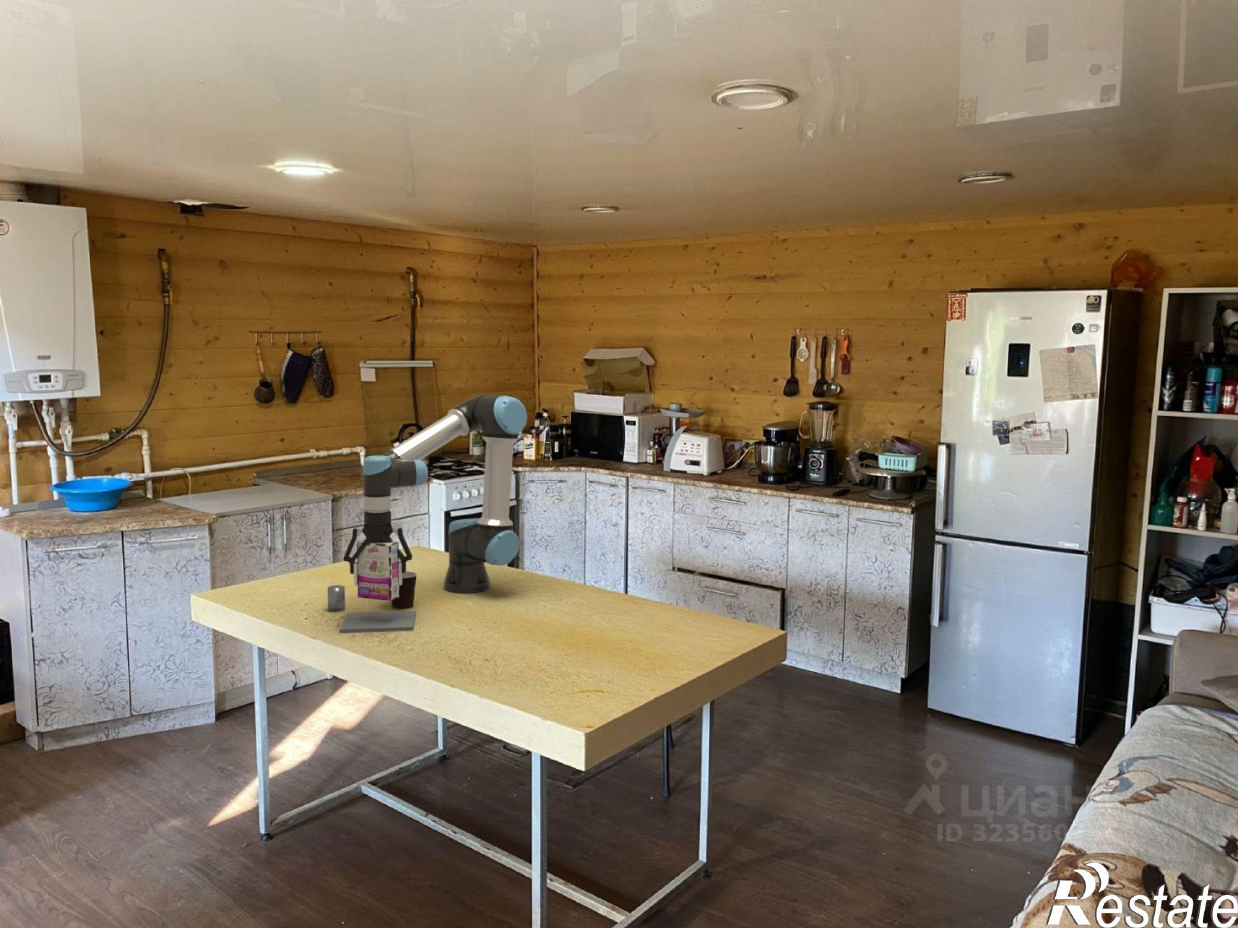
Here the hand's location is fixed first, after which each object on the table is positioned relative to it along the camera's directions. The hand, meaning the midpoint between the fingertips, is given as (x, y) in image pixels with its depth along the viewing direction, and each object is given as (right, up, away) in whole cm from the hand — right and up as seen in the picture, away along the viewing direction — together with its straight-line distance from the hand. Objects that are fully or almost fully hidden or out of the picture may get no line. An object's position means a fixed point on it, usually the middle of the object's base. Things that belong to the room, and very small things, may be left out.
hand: (378, 584), depth 258 cm
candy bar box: (0, -4, 0) cm, 4 cm away
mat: (0, -11, +2) cm, 11 cm away
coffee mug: (+3, -9, +20) cm, 22 cm away
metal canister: (-16, -10, +14) cm, 24 cm away
